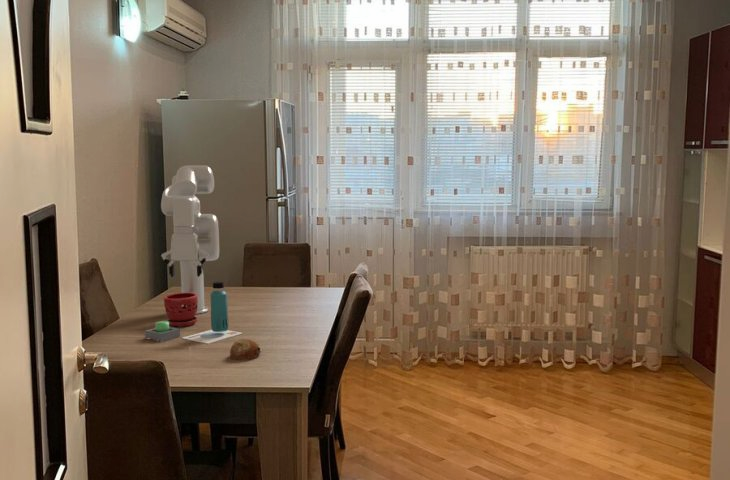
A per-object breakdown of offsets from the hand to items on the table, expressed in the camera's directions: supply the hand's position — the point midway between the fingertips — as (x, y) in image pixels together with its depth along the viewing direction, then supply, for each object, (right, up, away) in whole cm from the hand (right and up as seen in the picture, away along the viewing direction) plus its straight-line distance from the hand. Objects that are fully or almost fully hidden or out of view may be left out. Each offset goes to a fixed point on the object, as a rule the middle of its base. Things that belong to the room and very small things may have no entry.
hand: (185, 276), depth 279 cm
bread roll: (+26, -27, -23) cm, 44 cm away
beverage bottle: (+12, -22, +6) cm, 26 cm away
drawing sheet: (+9, -23, +4) cm, 25 cm away
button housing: (-9, -23, +2) cm, 25 cm away
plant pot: (-7, -21, +24) cm, 33 cm away
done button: (-9, -21, +2) cm, 23 cm away
